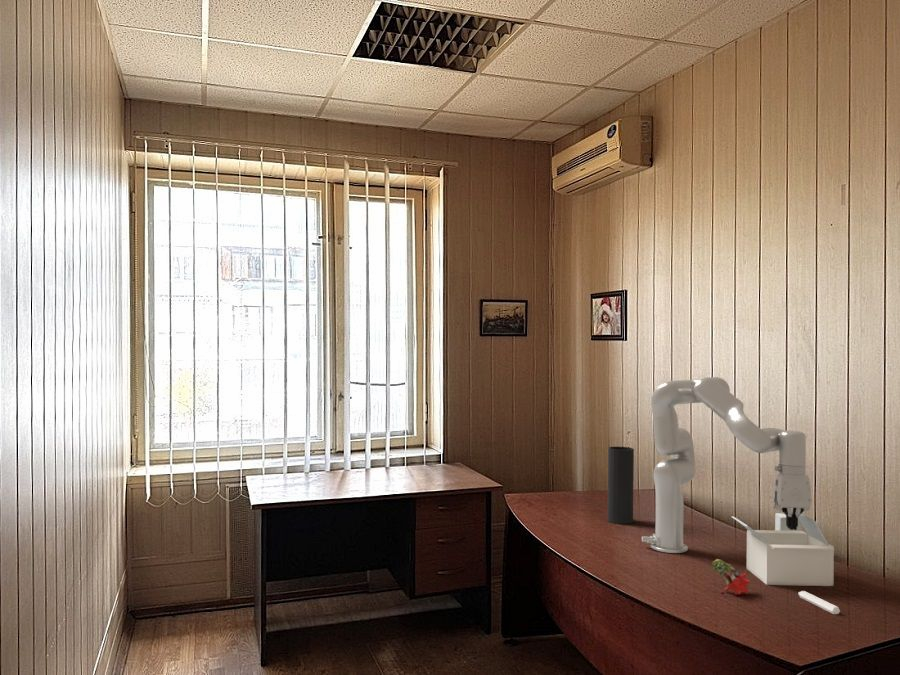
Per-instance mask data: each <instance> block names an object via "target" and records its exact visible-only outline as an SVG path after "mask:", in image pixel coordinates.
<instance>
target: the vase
mask: <svg viewBox="0 0 900 675" xmlns="http://www.w3.org/2000/svg"><path fill="white" fill-rule="evenodd" d="M634 451H635V449H634V448H633V447H629V446H609V447H608V448H607V520H606V521H607V522H609V523H611V524H616V525H629V524H633V523H634V475H635V474H634V471H635V470H634V466H635V465H634V462H635V461H634V460H635V459H634V458H635V453H634Z"/></svg>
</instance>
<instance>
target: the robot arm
mask: <svg viewBox="0 0 900 675" xmlns="http://www.w3.org/2000/svg"><path fill="white" fill-rule="evenodd" d="M650 403H651V404H650V405H651V412H652V420H653V421H652V422H653V437H654V446H655V450H656V452H658V453H659V454H660V455H661V456H666V457H667V456H669V458H668V459H663V460H661V461H659V462H658V463H657V464H656V465H655V467H654V469H653V474H652V476H653V484H654V489H655V518H654V519H655V533H652V535H650V536H647V535H646V536H645V535H644V536H643V535H642V536H641V542H643V543H646V544H650V548H651V549H652V550H655V551H658V552H662V553H668V554H669V553H670V554H680V553H685V552H687V551H688V550H689V549H688V546H687V544H684V495H683V491H682V487H681V485H685V484H688V483H690V482H691V481H692V480H694V479H695V475H696V459H695V458H696V457H695V456H696V455H695V447H694V441H693V440H694V439H693V438H692V435H691V434H690V432H689V431H688V430H687V429H686V428H683V427H679V421H678V420H679V418H678V413H677V411H676V409H675V406H676V405H686V404H696V403H697V404H698V403H702V404H704V405H705V406H706V407H707V408H708V409H710V410H711V411H712V412H713V413H715V414H716V415H717V416H718V417H719V418H720V419H722V420H723V421H724V422H725V424H726V426H727V428H728V429H729V431H730V432H731V434H732V435H733V436H734V437H735V438H736V439H737V441H740V442H741V443H742V444H744V446H745V447H747V448H748V449H749V450H751V451H753V452H755V453H758V454H766V453H769V452H771V453H772V452H779V454H778V456H779V457H778V458H779V459H778V460H779V461H778V462H779V463H778V465H776V466H774V470H775V471H776V472H778V473H777V474H776V478H775V483H774V490H773V502H774V507H773V508H774V509H775V510H776V511H779V512H782V513H783V514H785V515H786V526H787V528H789V529H791V530H793V529H794V530H797V527H798V517H799V516H800V514H803V513H804V512H808V511H810V510H811V507H812V488H811V487H812V486H811V482H810V477H809V475H807V474H806V472H807V471H806V470H807V468H806V466H807V465H806V463H807V462H806V460H807V459H806V456H807V455H806V448H807V447H806V446H807V445H806V444H807V443H806V442H807V439H806V438H807V437H806V434H805V433H804V432H802V431H800V430H784V429H780V428H776V427H766V428H760V427H759V426H758V425H756V424H755V423H754V422H752V420H750V419H749V418H748V417H747V415H746V413H745V412H744V403H743V401H741V400H740V399H739V398H738V397H736V396H735V395H734V394H732V393H731V390H730V385H729V383H728V382H727V381H726V379H724V378H721V377H718V376H711V377H703V378H699V379H683V380H682V379H681V380H679V379H677V380H669V381H665V382H663V383H661V384H659V385H658V386H657V387H656V388H655V389H654V391H653V392H652V395H651V402H650Z"/></svg>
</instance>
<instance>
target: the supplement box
mask: <svg viewBox="0 0 900 675" xmlns="http://www.w3.org/2000/svg"><path fill="white" fill-rule="evenodd" d="M774 516H775V517H774V519H775V520H774V524H775V525H774V526H775V527H774V530H785V531H803V530H802V529H803V525H802V524H801V522H800V520H799V518H798V527H797V530H794V529H793V530H791V529H789V528H787V526H786V515H785V514H784V513H783V512H782V513H781V512H780V513H779V512H778V513H777V512H775V515H774Z"/></svg>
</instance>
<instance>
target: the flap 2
mask: <svg viewBox="0 0 900 675" xmlns="http://www.w3.org/2000/svg"><path fill="white" fill-rule="evenodd" d="M798 518H799V520H800V522H801V524H802V528H803V529H804V532H805V533H807V534H809V535H810V536H812V537H814V538H816V539H818V540H819V541H821V542H823V543H825V544H829V543H828V541H827V538H826V537H825V535H824V534H823V532H822V530H821V529H820V527H819V525H818V523H817V521H816V520H815V519H812V518H810V517H808V516H806V515H804V514H803V513H801V514H800V516H799V517H798Z"/></svg>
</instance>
